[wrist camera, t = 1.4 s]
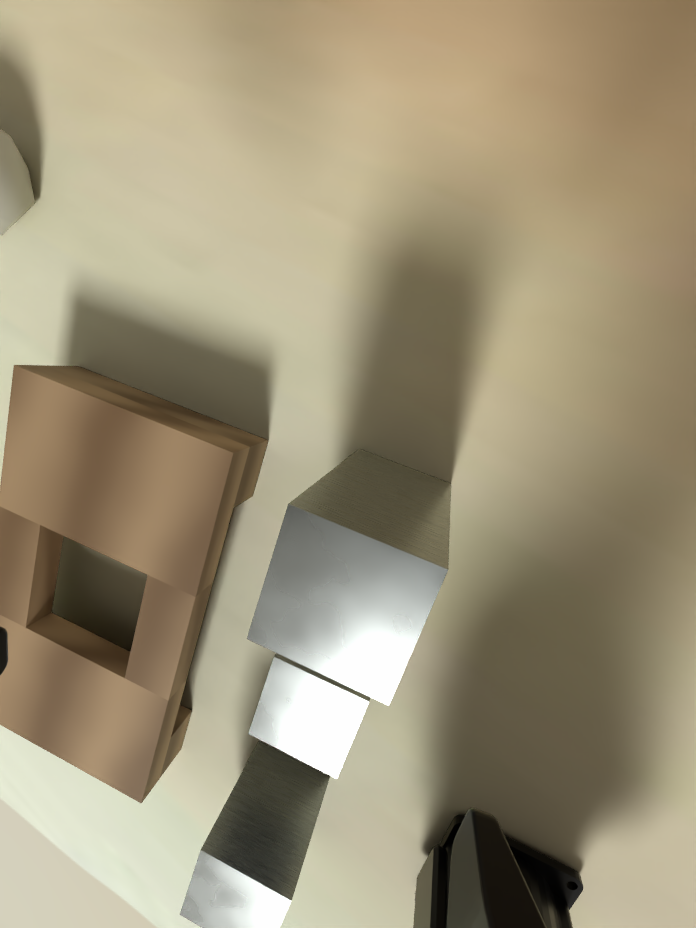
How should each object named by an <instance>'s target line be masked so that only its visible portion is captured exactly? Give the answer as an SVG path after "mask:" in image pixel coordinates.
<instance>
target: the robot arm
mask: <svg viewBox="0 0 696 928" xmlns="http://www.w3.org/2000/svg"><path fill="white" fill-rule="evenodd" d="M7 663H8V633H7V631H6V629H5V628H3V627H1V626H0V675H1V674H2V673H3V671H4V670H5V668H6V666H7ZM582 890H583V884H582V880H581V876H580V874H579V873H578V872H577V871H575V870H574V869H572V868H570V867H567V866H565V865H563V864H561V863H559V862H557V861H555V860H553V859H551V858H549V857H547V856H545V855H543V854H541V853H539V852H537V851H535V850H533V849H531V848H529V847H527V846H525V845H523V844H521V843H519V842H517V841H515V840H513V839H511V838H509V837H507V836H505V835H504V834H503V832H502V829H501V827H500V825H499V823H498V821H497V820H496V818H495V817H494V816H493V815H491V814H489V813H486V812H483V811H481V810H478V809H476V808H470V809H469V810H468V811H467V813H466V815H465V816H464V815H458V816H456V817H455V818H454V819H453V821H452V823H451V825H450V826H449V828H448V830H447V832H446V834H445V836H444V838H443V840H442V841H441V843H440V845H436V846H435V847H433V849H432V851H431V852H430V854H429V856H428V858H427V860H426V862H425V864H424V866H423V868H422V869H421V871H420V873H419V875H418V877H417V886H416V893H415V913H414V927H413V928H573V927H572V922H571V917H570V913H569V910H570V908H571V907H572V905H573V904H574V902H575V901H576V899H577V898H578V897H579V895H580V894H581V892H582Z"/></svg>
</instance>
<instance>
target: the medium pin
mask: <svg viewBox="0 0 696 928" xmlns="http://www.w3.org/2000/svg"><path fill="white" fill-rule="evenodd" d="M329 778H330V777H329V776H327V775H325V774H323V773H321V772H319V771H317V770H315V769H313V768H311V767H309V766H307V765H305V764H303V763H301V762H299V761H297V760H295V759H293V758H291V757H289V756H288V755H286V754H284V753H282V752H280V751H278V750H276V749H274V748H272V747H270V746H268V745H266V744H264V743H262V742H260V741H259V742H258V743H257V745H256V747H255V749H254V751H253V753H252V755H251V757H250V758H249V760H248V762H247V764H246V766H245V768H244V770H243V772H242V773H241V775H240V777H239V779H238V781H237V783H236V785H235V787H234V788H233V790H232V792H231V794H230V796H229V798H228V800H227V802H226V804H225V805H224V807H223V809H222V811H221V813H220V815H219V817H218V819H217V820H216V822H215V824H214V826H213V828H212V830H211V832H210V834H209V835H208V837H207V839H206V841H205V843H204V845H203V847H202V849H201V851H200V854H199V857H198V860H197V863H196V866H195V869H194V872H193V875H192V878H191V881H190V885H189V888H188V891H187V894H186V897H185V900H184V903H183V906H182V909H181V912H180V915H182V916H183V917H185V918H187V919H188V920H190V921H192V922H193V923H195V924H197V925H198V926H200V927H202V928H280V927H281V924H282V922H283V920H284V917H285V915H286V912H287V910H288V908H289V905H290V903H291V901H292V897H293V894H294V891H295V888H296V884H297V881H298V878H299V875H300V872H301V868H302V865H303V862H304V859H305V855H306V852H307V849H308V846H309V842H310V839H311V836H312V833H313V829H314V826H315V823H316V820H317V817H318V813H319V810H320V807H321V804H322V800H323V797H324V794H325V791H326V787H327V784H328V781H329Z"/></svg>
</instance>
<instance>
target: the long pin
mask: <svg viewBox="0 0 696 928" xmlns="http://www.w3.org/2000/svg"><path fill="white" fill-rule="evenodd" d="M450 501H451V483H448V482H446V481H443V480H441V479H438V478H435V477H433V476H430V475H427V474H425V473H422V472H419V471H417V470H414V469H412V468H409V467H406V466H404V465H401V464H398V463H396V462H393V461H391V460H388V459H385V458H383V457H380V456H377V455H375V454H372V453H370V452H367V451H364V450H362V449H358V450H357V451H356V452H354V453H353V454H352V455H351V456H349V457H348V458H347V459H345V460H344V461H343V462H342V463H340V464H339V465H338V466H336V467H335V468H334V469H333V470H331V471H330V472H329V473H328V474H326V475H325V476H324V477H322V478H321V479H320V480H319V481H317V482H316V483H315V484H313V485H312V486H311V487H310V488H308V489H307V490H306V491H304V492H303V493H302V494H301V495H299V496H298V497H297V498H295V499H294V500H293V501H292V502H290V503H289V504H288V507H287V510H286V514H285V517H284V520H283V523H282V526H281V530H280V533H279V536H278V539H277V543H276V546H275V549H274V552H273V556H272V559H271V562H270V565H269V569H268V572H267V575H266V578H265V581H264V585H263V588H262V591H261V594H260V598H259V601H258V604H257V607H256V611H255V614H254V617H253V620H252V624H251V627H250V630H249V633H248V636H247V639H248V640H250V641H252V642H254V643H256V644H259V645H261V646H263V647H265V648H267V649H269V650H271V651H273V652H276V653H278V654H280V655H282V656H284V657H286V658H288V659H290V660H293V661H295V662H297V663H299V664H301V665H303V666H305V667H307V668H309V669H312V670H314V671H316V672H318V673H320V674H322V675H324V676H326V677H329V678H331V679H333V680H335V681H337V682H339V683H341V684H343V685H346V686H348V687H350V688H352V689H354V690H356V691H358V692H360V693H363V694H365V695H367V696H369V697H371V698H373V699H375V700H377V701H380V702H382V703H384V704H386V705H388V706H389V704H390V702H391V700H392V697H393V695H394V693H395V691H396V688H397V686H398V684H399V681H400V679H401V677H402V674H403V672H404V670H405V668H406V665H407V663H408V661H409V658H410V656H411V654H412V652H413V649H414V647H415V645H416V642H417V640H418V638H419V636H420V633H421V631H422V629H423V626H424V624H425V622H426V620H427V617H428V615H429V613H430V610H431V608H432V606H433V603H434V601H435V599H436V597H437V594H438V592H439V590H440V587H441V585H442V583H443V581H444V578H445V576H446V574H447V571H448V562H449V531H450Z"/></svg>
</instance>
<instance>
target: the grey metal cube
mask: <svg viewBox="0 0 696 928" xmlns="http://www.w3.org/2000/svg"><path fill="white" fill-rule="evenodd" d="M369 700H370V697H369V696H367V695H365V694H363V693H360V692H358V691H356V690H354V689H352V688H350V687H348V686H346V685H343V684H341V683H339V682H337V681H335V680H333V679H331V678H329V677H326V676H324V675H322V674H320V673H318V672H316V671H314V670H312V669H309V668H307V667H305V666H303V665H301V664H299V663H297V662H295V661H293V660H290V659H288V658H286V657H284V656H282V655H280V654H278V653H276V654H275V656H274V658H273V661H272V664H271V667H270V670H269V673H268V676H267V679H266V682H265V685H264V688H263V691H262V694H261V697H260V700H259V703H258V706H257V709H256V712H255V715H254V718H253V721H252V724H251V727H250V730H249V733H248V734H249V735H251V736H253V737H255V738H257V739H259V740H261V741H263V742H265V743H267V744H269V745H271V746H273V747H275V748H277V749H279V750H281V751H283V752H285V753H287V754H289V755H291V756H293V757H295V758H297V759H299V760H301V761H303V762H305V763H306V764H308V765H310V766H312V767H314V768H316V769H318V770H320V771H322V772H324V773H326V774H328V775H330V776H332V777H334V778H336V779H337V777H338V775H339V773H340V770H341V768H342V765H343V763H344V761H345V758H346V756H347V753H348V751H349V749H350V746H351V744H352V742H353V739H354V737H355V734H356V732H357V730H358V727H359V725H360V722H361V720H362V718H363V715H364V713H365V711H366V708H367V706H368V703H369Z"/></svg>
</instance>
